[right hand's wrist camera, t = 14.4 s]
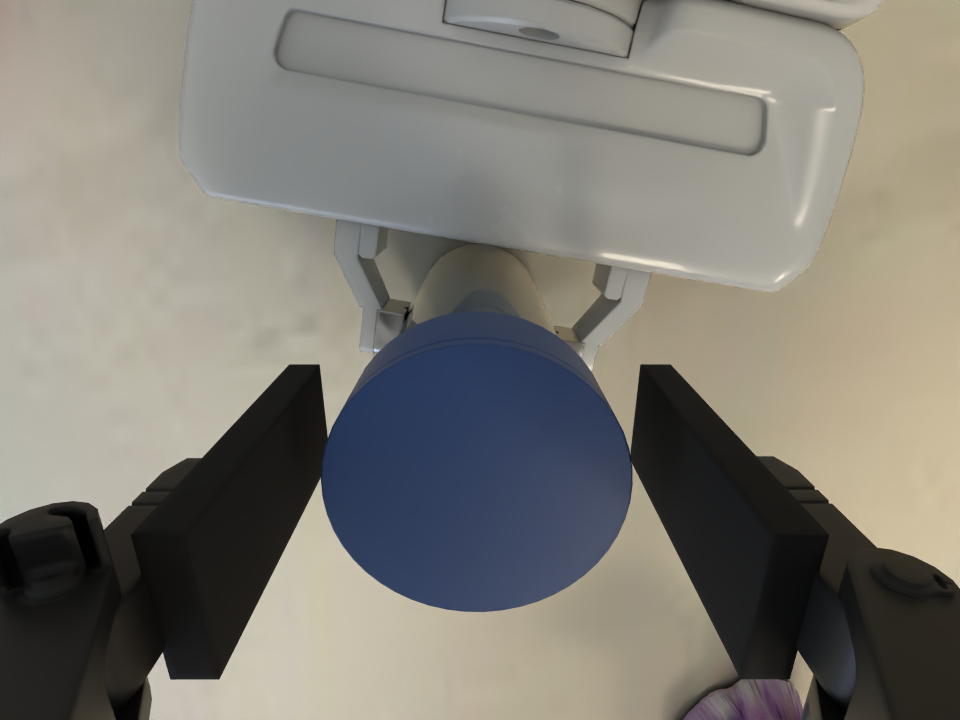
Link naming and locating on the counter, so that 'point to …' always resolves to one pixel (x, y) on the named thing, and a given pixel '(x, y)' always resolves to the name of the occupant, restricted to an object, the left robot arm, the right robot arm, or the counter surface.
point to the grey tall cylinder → (478, 287)
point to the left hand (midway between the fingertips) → (475, 365)
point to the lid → (476, 465)
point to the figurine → (750, 702)
